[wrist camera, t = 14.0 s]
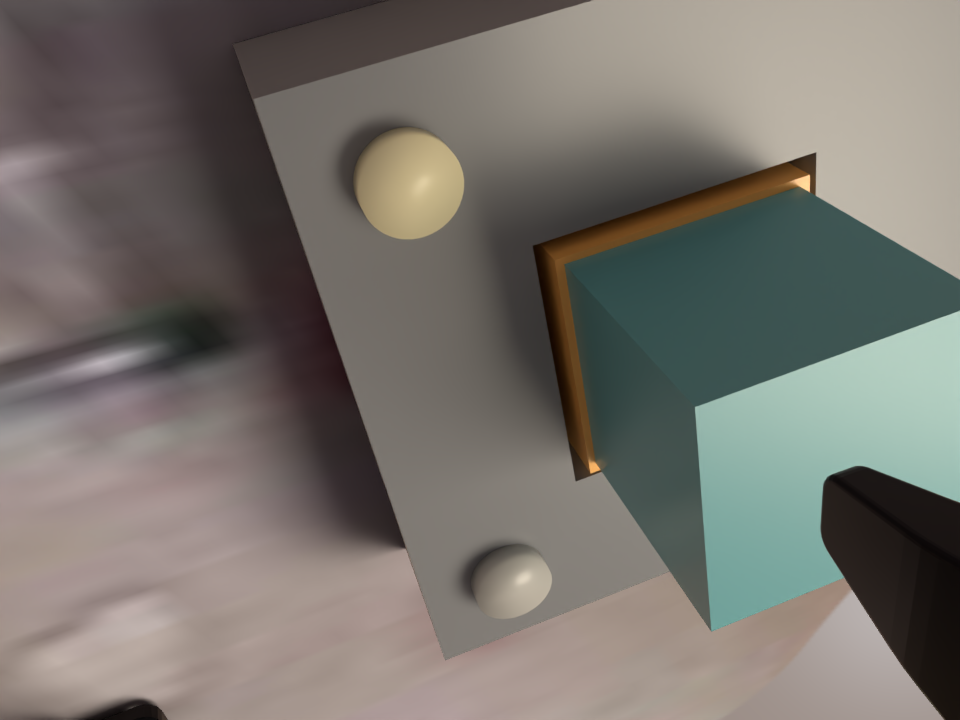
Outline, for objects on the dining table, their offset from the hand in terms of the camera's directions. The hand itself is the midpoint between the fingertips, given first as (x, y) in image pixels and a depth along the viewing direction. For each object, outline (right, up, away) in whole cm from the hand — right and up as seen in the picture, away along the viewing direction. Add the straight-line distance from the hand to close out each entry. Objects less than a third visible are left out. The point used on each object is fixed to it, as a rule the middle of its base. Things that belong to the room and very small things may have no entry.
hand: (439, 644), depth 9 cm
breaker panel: (+4, +6, +13) cm, 15 cm away
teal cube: (+5, +4, +10) cm, 11 cm away
